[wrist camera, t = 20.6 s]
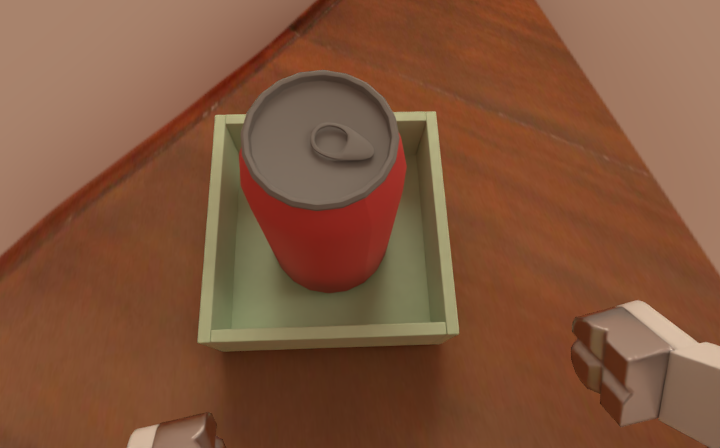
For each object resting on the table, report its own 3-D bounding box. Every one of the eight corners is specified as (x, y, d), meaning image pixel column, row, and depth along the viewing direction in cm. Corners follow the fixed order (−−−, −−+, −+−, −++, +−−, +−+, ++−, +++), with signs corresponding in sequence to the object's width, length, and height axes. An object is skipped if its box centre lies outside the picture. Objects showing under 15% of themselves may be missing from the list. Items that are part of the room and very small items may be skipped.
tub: (423, 151, 31) (436, 111, 26) (441, 344, 26) (459, 334, 22) (233, 154, 30) (214, 114, 26) (221, 351, 26) (196, 343, 22)
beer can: (366, 311, 26) (380, 249, 15) (256, 273, 27) (192, 186, 16) (400, 208, 28) (436, 86, 17) (298, 175, 29) (268, 36, 18)
